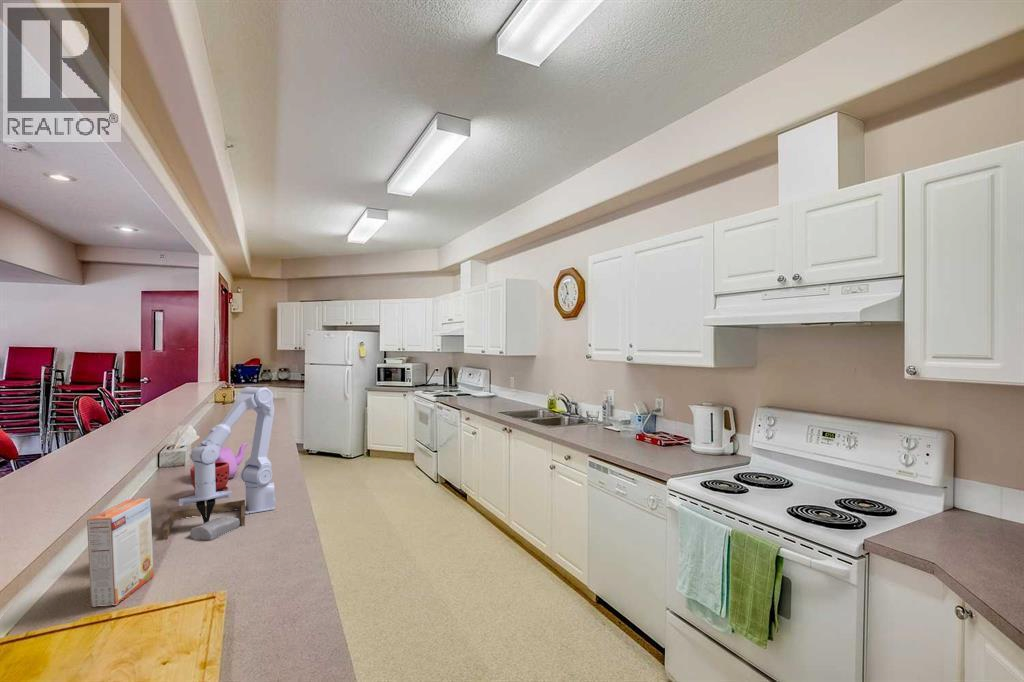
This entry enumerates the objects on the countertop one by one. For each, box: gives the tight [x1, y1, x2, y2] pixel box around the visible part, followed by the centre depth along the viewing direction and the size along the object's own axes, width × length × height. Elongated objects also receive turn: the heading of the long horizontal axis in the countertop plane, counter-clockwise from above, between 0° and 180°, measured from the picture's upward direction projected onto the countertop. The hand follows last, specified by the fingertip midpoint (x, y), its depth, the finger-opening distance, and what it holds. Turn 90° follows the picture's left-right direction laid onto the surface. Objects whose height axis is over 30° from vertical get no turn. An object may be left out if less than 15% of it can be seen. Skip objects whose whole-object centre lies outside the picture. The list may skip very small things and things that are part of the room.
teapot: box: [192, 441, 251, 479], centre depth 217 cm, size 23×21×15 cm
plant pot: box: [189, 462, 230, 496], centre depth 193 cm, size 13×13×12 cm
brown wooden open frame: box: [162, 499, 246, 540], centre depth 165 cm, size 22×19×3 cm
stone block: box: [189, 516, 241, 541], centre depth 156 cm, size 12×5×10 cm
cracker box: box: [86, 497, 155, 607], centre depth 120 cm, size 14×6×21 cm, turn 5°
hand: (206, 523), depth 160 cm, fingers closed
